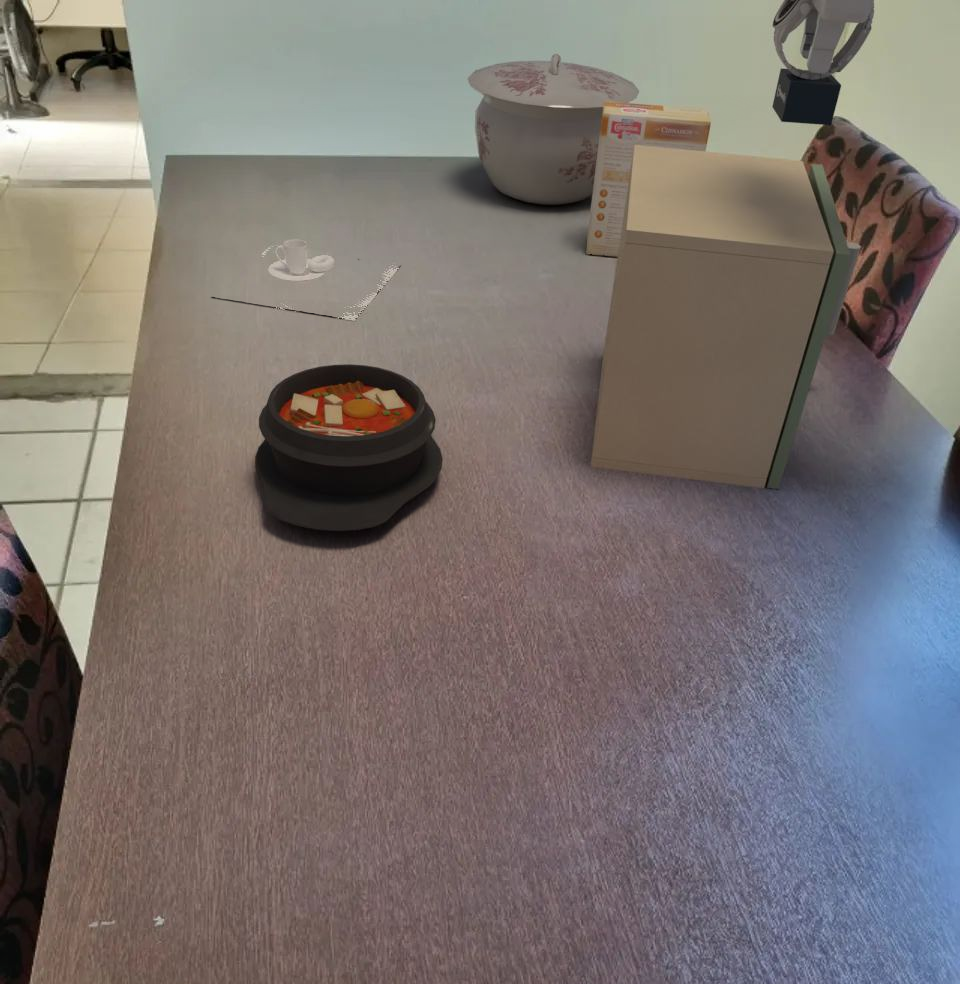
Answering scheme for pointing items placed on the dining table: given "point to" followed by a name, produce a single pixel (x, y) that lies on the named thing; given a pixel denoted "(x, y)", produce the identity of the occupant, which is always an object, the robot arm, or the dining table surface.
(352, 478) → the casserole
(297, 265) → the teacup and saucer
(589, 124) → the chamber pot
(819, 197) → the cupboard door
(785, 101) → the watch
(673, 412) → the cupboard
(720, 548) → the dining table surface
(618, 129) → the coffeecake box
